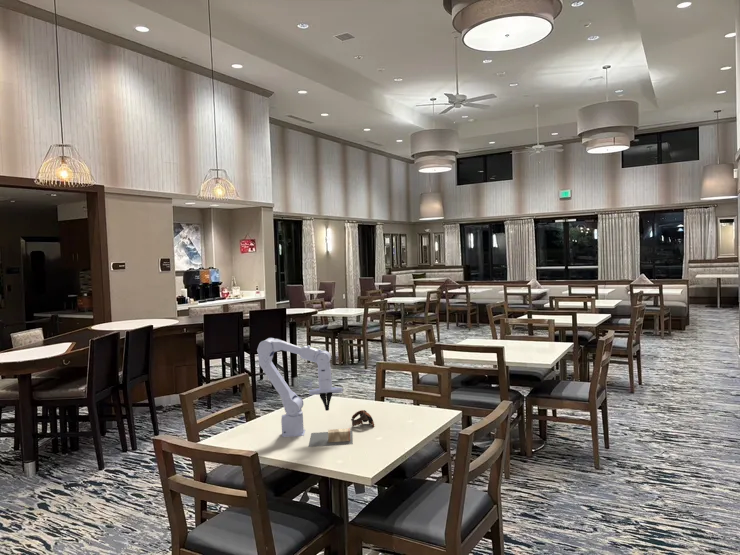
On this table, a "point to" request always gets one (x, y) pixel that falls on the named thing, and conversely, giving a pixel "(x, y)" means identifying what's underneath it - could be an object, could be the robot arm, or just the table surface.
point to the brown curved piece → (362, 418)
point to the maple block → (339, 435)
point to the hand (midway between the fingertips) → (327, 410)
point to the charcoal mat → (326, 440)
